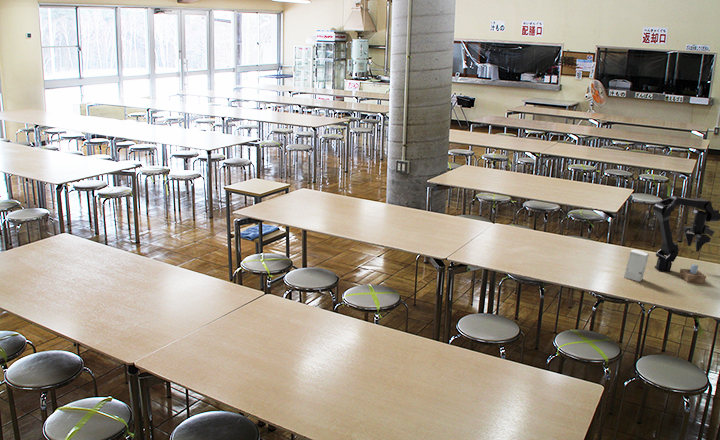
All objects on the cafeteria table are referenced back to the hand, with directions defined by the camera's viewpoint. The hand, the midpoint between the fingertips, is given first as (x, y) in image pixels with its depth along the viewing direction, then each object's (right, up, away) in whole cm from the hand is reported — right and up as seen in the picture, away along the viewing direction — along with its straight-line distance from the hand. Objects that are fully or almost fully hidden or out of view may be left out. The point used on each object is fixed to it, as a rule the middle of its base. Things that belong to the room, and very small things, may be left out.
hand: (693, 248), depth 325 cm
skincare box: (-39, -15, -14) cm, 45 cm away
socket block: (-7, -16, -11) cm, 21 cm away
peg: (-7, -16, -11) cm, 21 cm away
